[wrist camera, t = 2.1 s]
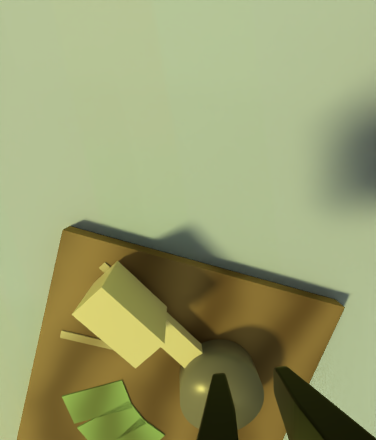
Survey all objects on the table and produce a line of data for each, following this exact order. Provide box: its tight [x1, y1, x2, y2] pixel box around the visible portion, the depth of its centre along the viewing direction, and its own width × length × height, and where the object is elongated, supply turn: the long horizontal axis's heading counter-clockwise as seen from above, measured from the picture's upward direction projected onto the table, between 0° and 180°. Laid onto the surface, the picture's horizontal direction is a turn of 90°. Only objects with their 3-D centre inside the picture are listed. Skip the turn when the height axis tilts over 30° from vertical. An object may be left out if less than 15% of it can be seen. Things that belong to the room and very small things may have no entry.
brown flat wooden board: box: [17, 226, 345, 440], centre depth 21 cm, size 22×20×1 cm
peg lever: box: [72, 261, 264, 429], centre depth 18 cm, size 15×6×4 cm, turn 43°
